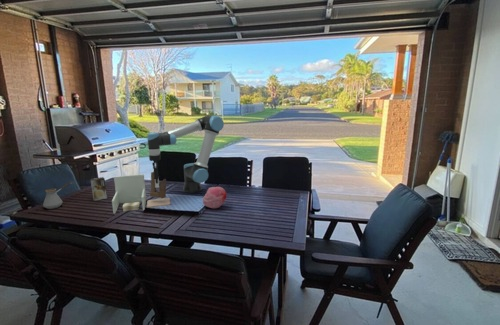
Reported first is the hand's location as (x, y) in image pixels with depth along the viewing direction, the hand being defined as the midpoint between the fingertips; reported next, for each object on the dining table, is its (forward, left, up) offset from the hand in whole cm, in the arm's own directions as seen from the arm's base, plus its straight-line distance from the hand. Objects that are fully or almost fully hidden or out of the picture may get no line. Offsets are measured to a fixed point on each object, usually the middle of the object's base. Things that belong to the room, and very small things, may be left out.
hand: (157, 186), depth 196 cm
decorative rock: (-37, +23, -13) cm, 45 cm away
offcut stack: (+18, +5, -13) cm, 23 cm away
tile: (0, 0, -13) cm, 13 cm away
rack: (+19, 0, -13) cm, 23 cm away
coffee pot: (+68, -22, -13) cm, 73 cm away
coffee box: (+43, -27, -13) cm, 52 cm away
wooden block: (0, -1, -8) cm, 8 cm away
